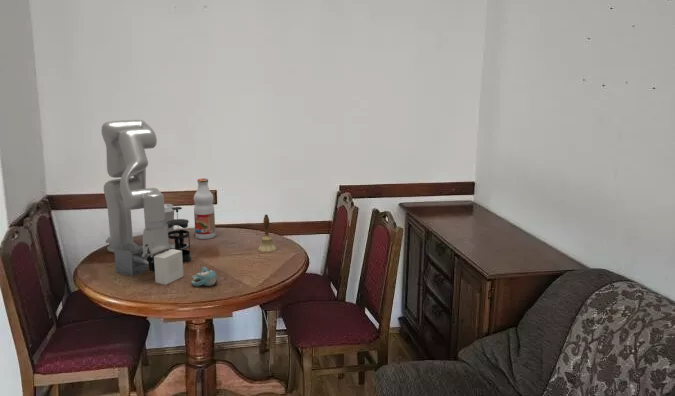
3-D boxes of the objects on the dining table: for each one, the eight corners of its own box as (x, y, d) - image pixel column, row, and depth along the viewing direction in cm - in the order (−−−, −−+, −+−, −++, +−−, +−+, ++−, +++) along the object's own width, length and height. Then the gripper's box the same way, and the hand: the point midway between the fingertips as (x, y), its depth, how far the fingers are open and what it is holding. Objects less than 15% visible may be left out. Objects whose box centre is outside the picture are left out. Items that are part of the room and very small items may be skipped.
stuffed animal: (203, 262, 238) (223, 263, 231) (206, 280, 239) (226, 282, 231) (181, 269, 231) (200, 270, 223) (184, 287, 231) (203, 289, 223)
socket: (155, 282, 232) (153, 256, 229) (173, 274, 240) (171, 249, 238) (165, 284, 230) (164, 258, 227) (183, 276, 238) (181, 250, 236)
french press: (189, 264, 252) (186, 210, 247) (166, 264, 252) (162, 210, 246) (193, 255, 264) (190, 203, 259) (171, 255, 263) (168, 204, 258)
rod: (129, 265, 240) (128, 253, 239) (138, 262, 244) (137, 249, 243) (166, 273, 232) (165, 260, 230) (175, 269, 236) (174, 256, 235)
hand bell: (254, 250, 270) (253, 216, 266) (263, 245, 277) (262, 211, 274) (271, 253, 267) (270, 218, 263) (279, 247, 274) (279, 213, 271)
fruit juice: (218, 237, 290) (216, 179, 284) (200, 240, 284) (197, 182, 278) (210, 232, 297) (207, 176, 291) (192, 236, 292) (189, 178, 285)
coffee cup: (173, 239, 286) (171, 208, 283) (153, 239, 287) (151, 208, 283) (179, 233, 296) (177, 203, 292) (159, 233, 296) (157, 203, 293)
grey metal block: (116, 272, 242) (114, 248, 240) (130, 266, 249) (129, 243, 247) (133, 276, 238) (131, 252, 236) (147, 270, 245) (146, 246, 243)
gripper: (163, 217, 242) (165, 261, 246) (131, 228, 227) (134, 274, 231) (177, 220, 238) (180, 264, 243) (146, 231, 224) (149, 277, 228)
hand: (158, 268), depth 237 cm, fingers closed on rod, 5 cm apart
